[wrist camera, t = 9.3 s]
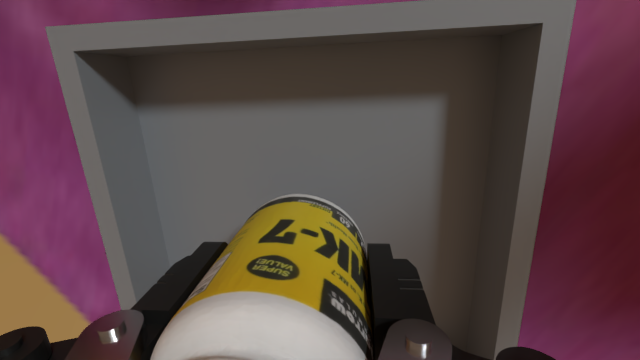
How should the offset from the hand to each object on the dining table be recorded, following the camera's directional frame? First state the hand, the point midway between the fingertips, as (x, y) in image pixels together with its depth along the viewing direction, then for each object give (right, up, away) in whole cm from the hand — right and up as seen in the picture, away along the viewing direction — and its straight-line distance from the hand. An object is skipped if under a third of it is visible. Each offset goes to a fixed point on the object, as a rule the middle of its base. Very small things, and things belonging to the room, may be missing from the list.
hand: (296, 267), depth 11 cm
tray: (+1, +1, +5) cm, 5 cm away
